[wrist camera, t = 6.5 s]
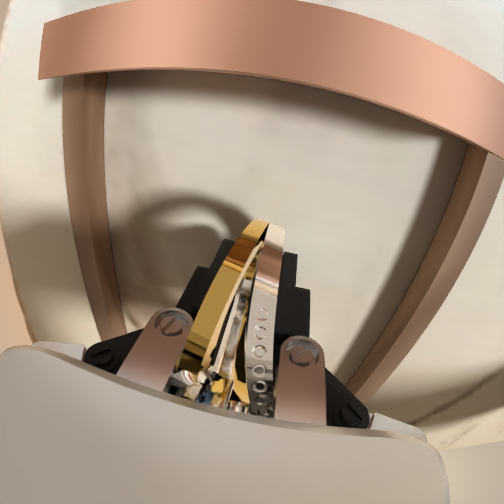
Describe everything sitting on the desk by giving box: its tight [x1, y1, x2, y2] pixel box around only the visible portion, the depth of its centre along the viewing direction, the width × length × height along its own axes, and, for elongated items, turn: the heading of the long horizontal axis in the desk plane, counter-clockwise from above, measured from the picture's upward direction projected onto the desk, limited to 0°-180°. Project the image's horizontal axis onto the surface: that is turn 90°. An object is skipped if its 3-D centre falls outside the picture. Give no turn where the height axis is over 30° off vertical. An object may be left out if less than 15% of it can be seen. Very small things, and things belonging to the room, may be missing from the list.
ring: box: [168, 218, 285, 418], centre depth 10 cm, size 7×3×8 cm, turn 165°
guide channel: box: [38, 0, 504, 404], centre depth 13 cm, size 17×24×4 cm
